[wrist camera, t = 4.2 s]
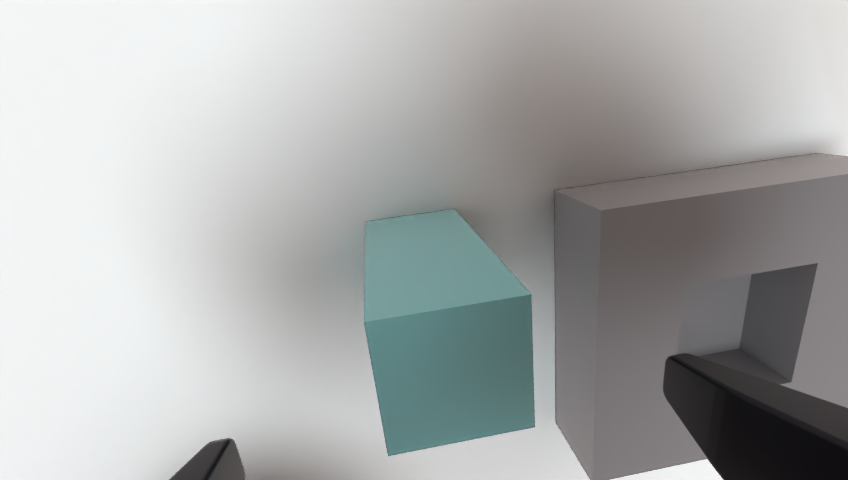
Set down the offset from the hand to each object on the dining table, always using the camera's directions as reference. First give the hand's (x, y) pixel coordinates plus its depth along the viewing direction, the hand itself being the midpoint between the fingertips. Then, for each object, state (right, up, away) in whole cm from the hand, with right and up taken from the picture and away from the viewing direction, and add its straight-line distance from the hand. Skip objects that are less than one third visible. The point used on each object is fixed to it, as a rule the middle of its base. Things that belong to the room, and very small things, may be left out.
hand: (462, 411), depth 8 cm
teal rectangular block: (-1, +3, +8) cm, 9 cm away
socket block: (+11, +1, +11) cm, 16 cm away
